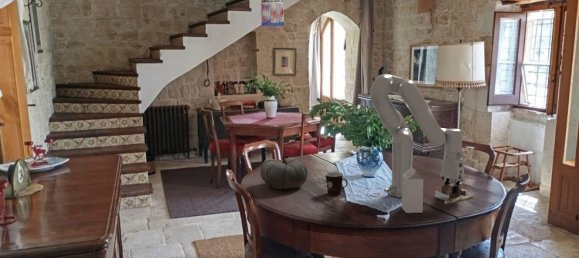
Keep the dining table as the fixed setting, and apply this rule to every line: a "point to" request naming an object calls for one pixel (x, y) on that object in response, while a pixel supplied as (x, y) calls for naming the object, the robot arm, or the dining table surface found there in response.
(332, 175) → the coffee mug
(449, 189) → the brown rectangular block
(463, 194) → the keeper
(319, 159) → the dining table surface
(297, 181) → the gourd
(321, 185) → the dining table surface
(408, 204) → the milk carton
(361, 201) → the dining table surface
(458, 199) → the door edge strip
